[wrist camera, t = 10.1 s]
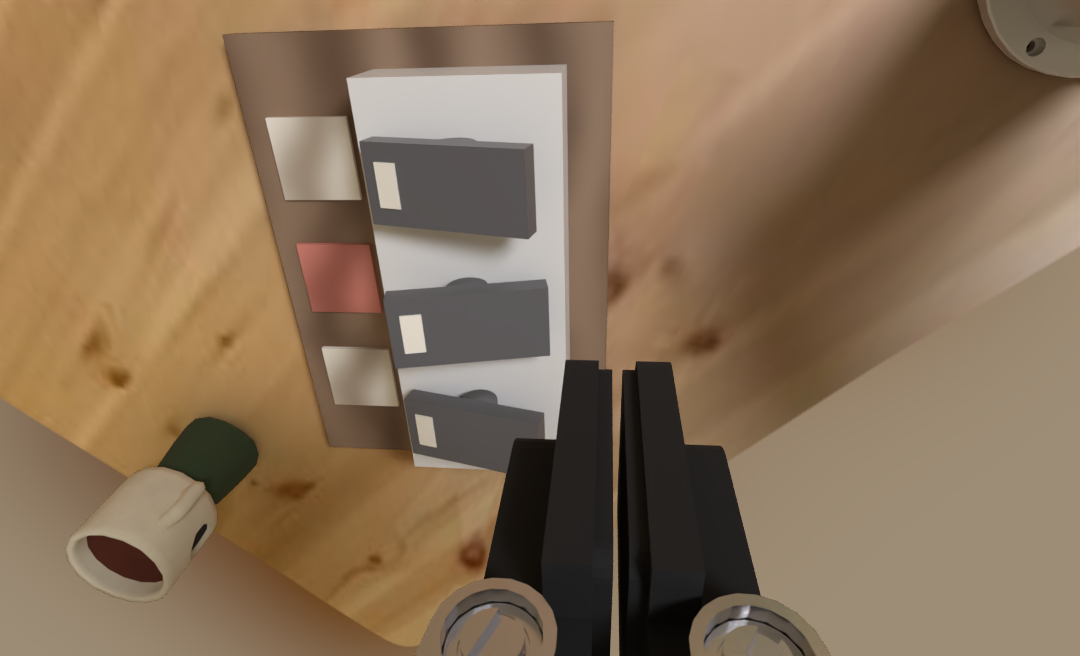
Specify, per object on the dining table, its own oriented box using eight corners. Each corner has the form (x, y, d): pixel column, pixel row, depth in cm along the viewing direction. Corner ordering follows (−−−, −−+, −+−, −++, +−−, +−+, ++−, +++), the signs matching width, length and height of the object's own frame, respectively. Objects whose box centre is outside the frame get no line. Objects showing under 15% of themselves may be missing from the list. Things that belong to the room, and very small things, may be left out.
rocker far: (551, 398, 38) (537, 425, 35) (553, 452, 40) (539, 481, 38) (424, 376, 40) (403, 400, 38) (432, 428, 43) (412, 453, 40)
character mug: (224, 494, 54) (123, 625, 43) (157, 444, 52) (32, 569, 41) (296, 438, 50) (205, 568, 39) (227, 382, 48) (109, 502, 37)
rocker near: (544, 136, 30) (523, 149, 28) (546, 221, 32) (527, 240, 30) (388, 130, 33) (358, 141, 30) (400, 208, 35) (372, 224, 33)
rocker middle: (542, 268, 36) (548, 288, 33) (544, 333, 38) (550, 356, 35) (388, 280, 35) (383, 301, 32) (399, 345, 37) (395, 369, 35)
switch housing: (566, 64, 33) (561, 72, 30) (570, 436, 46) (567, 473, 42) (373, 69, 34) (346, 77, 31) (429, 431, 47) (414, 466, 43)
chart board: (613, 20, 33) (613, 22, 31) (603, 448, 47) (603, 460, 46) (233, 33, 35) (219, 35, 34) (335, 437, 50) (328, 449, 48)
